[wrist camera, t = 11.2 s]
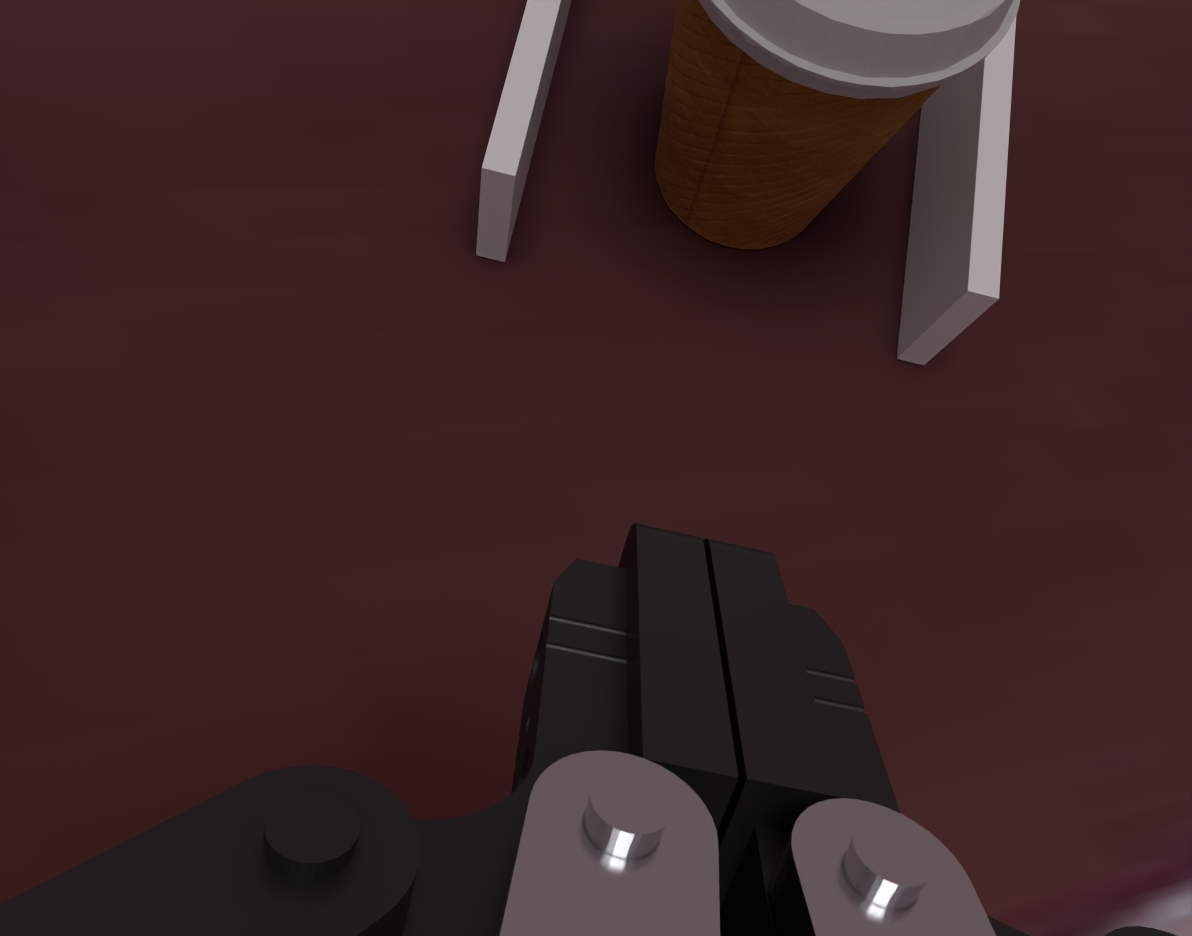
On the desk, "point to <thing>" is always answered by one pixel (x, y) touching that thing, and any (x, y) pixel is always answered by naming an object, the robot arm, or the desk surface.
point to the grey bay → (940, 195)
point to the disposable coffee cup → (799, 101)
